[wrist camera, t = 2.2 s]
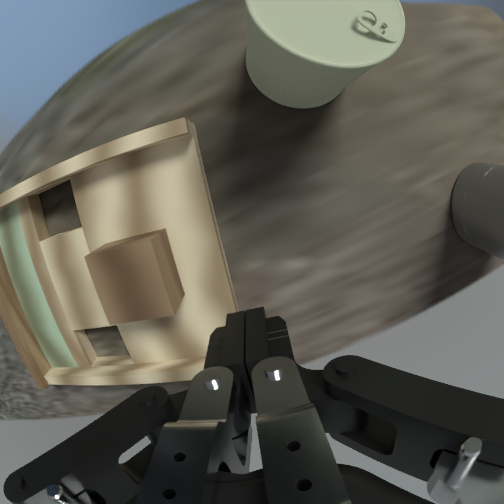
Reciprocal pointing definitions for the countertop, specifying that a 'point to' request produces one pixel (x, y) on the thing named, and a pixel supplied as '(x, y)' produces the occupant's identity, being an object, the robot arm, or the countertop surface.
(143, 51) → the countertop surface
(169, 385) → the countertop surface
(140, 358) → the board
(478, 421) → the robot arm
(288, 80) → the can
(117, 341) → the countertop surface
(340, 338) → the countertop surface
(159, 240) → the block
